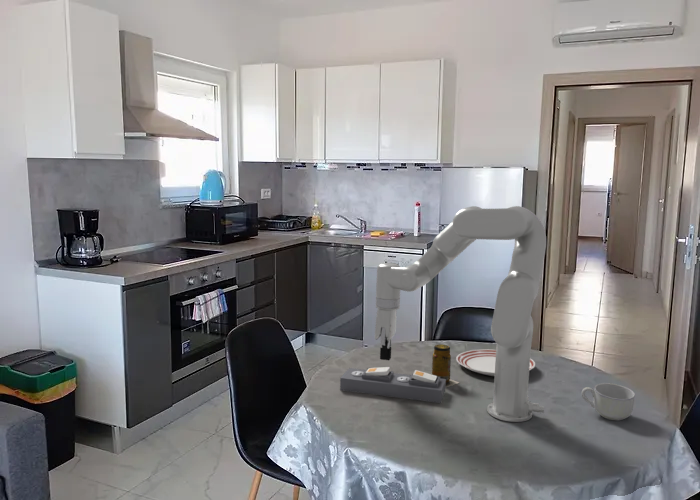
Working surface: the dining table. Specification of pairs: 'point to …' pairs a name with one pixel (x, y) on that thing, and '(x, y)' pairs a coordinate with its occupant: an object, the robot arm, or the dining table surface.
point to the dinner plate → (481, 361)
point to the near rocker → (424, 376)
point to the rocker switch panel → (393, 385)
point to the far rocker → (378, 371)
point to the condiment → (442, 363)
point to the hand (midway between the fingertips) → (385, 359)
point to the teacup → (611, 400)
